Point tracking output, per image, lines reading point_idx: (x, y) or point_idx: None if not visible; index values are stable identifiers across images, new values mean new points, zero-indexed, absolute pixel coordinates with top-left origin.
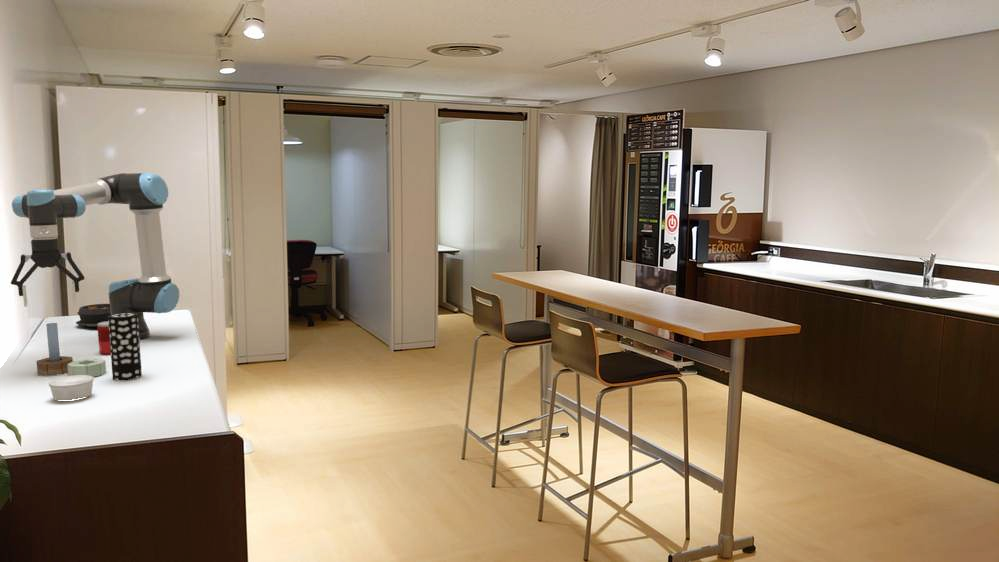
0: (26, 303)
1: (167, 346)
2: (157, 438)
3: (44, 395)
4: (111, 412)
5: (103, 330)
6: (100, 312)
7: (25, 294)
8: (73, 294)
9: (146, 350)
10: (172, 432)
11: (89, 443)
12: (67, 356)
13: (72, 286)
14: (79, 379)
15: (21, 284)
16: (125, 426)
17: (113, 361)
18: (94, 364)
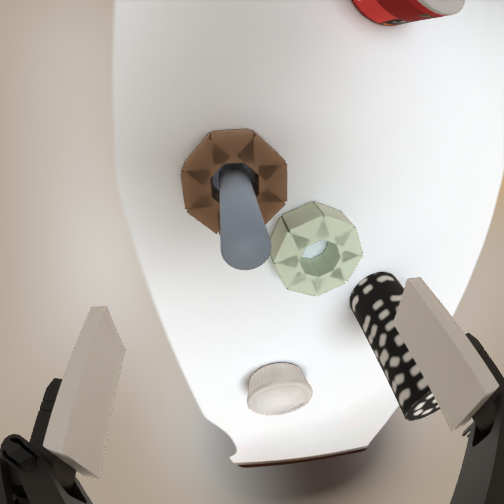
0: (120, 365)
1: (483, 31)
2: (327, 453)
3: (232, 360)
4: (311, 421)
5: (407, 1)
6: None
7: (107, 419)
8: (420, 362)
9: (450, 36)
10: (340, 447)
11: (283, 457)
12: (271, 148)
13: (442, 410)
14: (292, 400)
15: (76, 487)
16: (314, 441)
17: (365, 335)
18: (333, 287)
